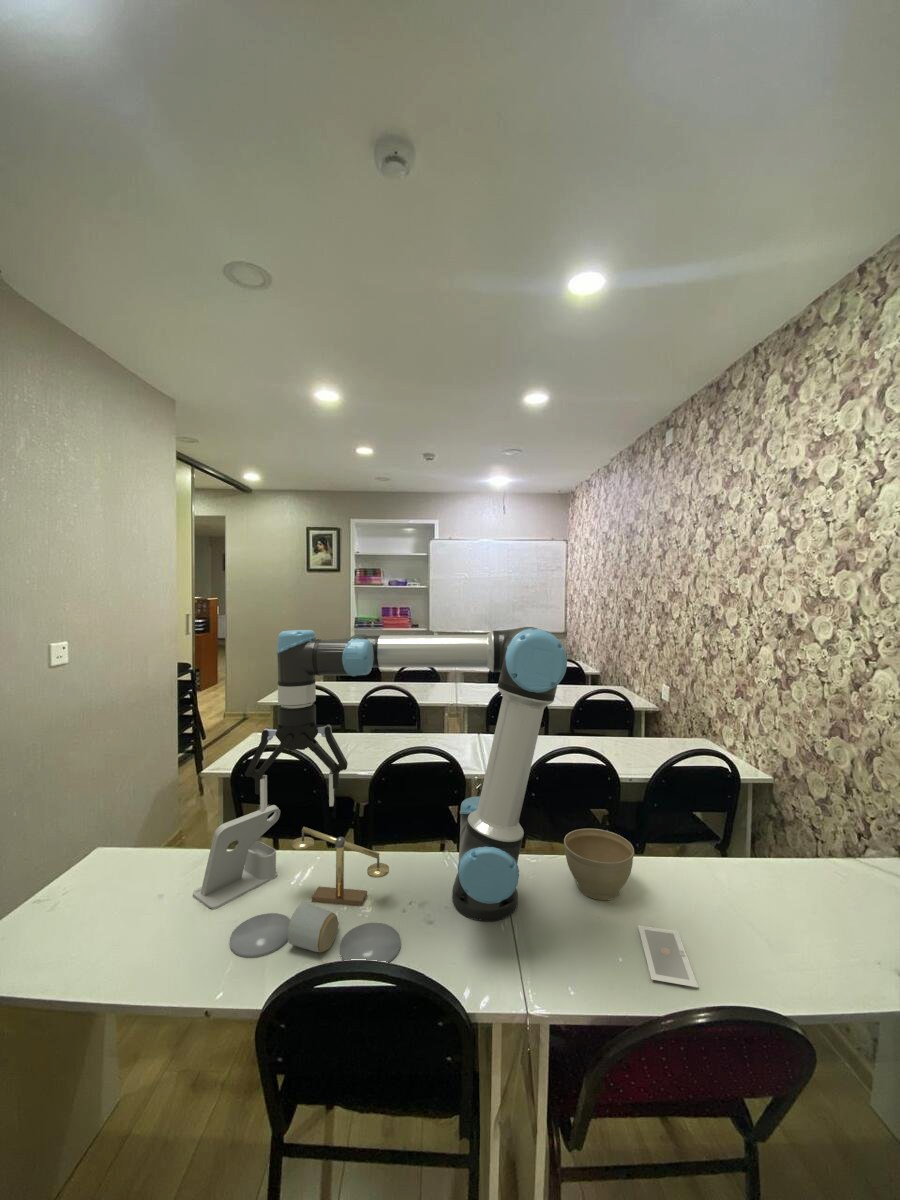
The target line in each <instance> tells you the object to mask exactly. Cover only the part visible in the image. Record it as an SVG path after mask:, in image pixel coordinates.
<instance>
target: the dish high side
mask: <svg viewBox="0 0 900 1200" xmlns="http://www.w3.org/2000/svg"><path fill="white" fill-rule="evenodd" d="M290 919H291V918H289V917H288V916H287V915H285V914H282V913H273V912H271V913H270V912H268V913H263V914H258V915H255V916H253V917H250V918H248V919H246V920H244V921H243V922H241V923H240V924H239V925H237V926H236V927H235V928H234V929H233V931H232V932H231V934H230V936H229V948H230V951H231V952H232V953H233V954H234V955H236V956H237V957H240V958H246V959H255V958H260V957H261V958H262V957H264V956H268V955H270V954H272V953H275V952H276V951H278V950H280V949H281V948H282V947H284V946H285V945H286V944H287V943H289V942H288V939H287V931H288V926H289V922H290Z"/></svg>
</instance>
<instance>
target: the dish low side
mask: <svg viewBox="0 0 900 1200" xmlns="http://www.w3.org/2000/svg"><path fill="white" fill-rule="evenodd" d="M401 945H402V943H401V935H400V933H399V932H398V930H397V929H396V928H394V927H393V926H391V925H389V924H386V923H382V922H368V923H366V922H365V923H363V924H359V925H356V926H355V927H353V928H352V929H350V930H348V931H347V932H346V933H345V934H344V935H343V937H342V938H341V940H340V943H339V956H340V955H341V956H340V958H341V957H342V959H341V960H342V961H343V960H351V959H366V960H377V961H386V962H390V963H391V962H392V961H394V959H396V957H397V956H398V954H399V952H400V950H401Z"/></svg>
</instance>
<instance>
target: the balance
mask: <svg viewBox="0 0 900 1200" xmlns="http://www.w3.org/2000/svg"><path fill="white" fill-rule="evenodd" d="M305 835H308V836H305ZM310 836H311V837H310ZM313 837H315V838H316V839H317V838H318V839H320V840H323V841H326V842H329V843H331V844H334V846H335V847H336V849H335V887H329V886H318V887H317V888H316V889H315V891H314V892H313V894H312V895H311V897H310V898H311V903H320V904H328V905H341V906H351V907H353V906H354V907H363V905H364V904H365V901H366V900H367V898H368V890H367V889H365V890H363V889H352V888H345V848H346V849H349V850H351V851H354V852H357V853H360V854H363V855H366V856H367V857H368V856H369V857H372V858H373V859H376V863H372V864H370V865H369V866H368V867H367V869H366V874H367V875H368V876H369V877H371V878H374V879H375V878H376V879H378V878H384V877H385V876H387V875H388V874H389V873H390V867H389V865H388V864H386V863H382V862H380V852H377V851H374V850H371V849H368V848H366V847H363V846H360V845H359V844H358V845H357V844H354V843H352V842H349V841H346V838H345V837H344V836H338V837H335V836H332V835H328V834H325V833H322V832H320V831H318V830H314V829H311V828H308V827H307V826H306V827H305V826H303V827H302V829H301V837H298V838H295V839H294V840H292V842H291V848H292V849H293V850H296V851H304V850H308V849H310V848H312V847H313V846H314V844H315V840H314V838H313Z"/></svg>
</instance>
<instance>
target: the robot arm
mask: <svg viewBox="0 0 900 1200" xmlns="http://www.w3.org/2000/svg"><path fill="white" fill-rule="evenodd" d="M276 650H277V651H276V656H277V703H278V704H277V705H280V706H278V707H277V729H271V728H270V727H265V728H264V730H262V732H261V737H260V742H259V744H258V746H257V748H256V750H255V751H254V755H253V757H252V758H251V761H250V763H249V764H248V766H247V769H246V771H245V773H244V776H245V777H246V778H249V777H250V778H252V779H254V793H255V795H259V798H260V799H259V803H260V804H259V805H260V808H259V810H260V812H264V811H265V810H266V808H267V807H268V775H267V774H265V773H266V771H268V769H269V768H270V767H271V765H272V764H273V763H274V762H275V761H276V759H278V757H279V756H280V754H282V752H283V751H284V750H288V751H296V750H300V751H304V750H306V749H309V750H310V751H311V752H313V754H315V756H317V757H318V759H319V760H320V761H321V762H322V763H323V764H324V765H325V766H326V767H327V768H328V769H329V773H328V798H329V799H328V804H329V806H328V807H334V804H335V789H339V787H340V772H342V771H345V770H347V769H348V764H349V763H348V760H347V759H346V757H345V755H344V754H343V751H342V749H341V747H340V746H339V744H338V742H337V740H336V739H335V737H334V735H333V729H332V725H331V724H329V723H328V724H326V725H324V726H318V725H317V705H316V704H315V702H316V701H317V700H316V699H317V696H316V695H317V694H316V676H351V677H357V676H367V675H369V674H370V673H371V671H372V668H466V669H467V668H479V669H480V668H481V669H482V668H486V669H488V670H489V671H490V672H491V673H500V674H499V677H498V678H499V679H498V684H497V689H498V691H499V693H500V694H501V697H502V699H501V703H500V708H499V712H498V716H497V721H496V725H495V730H494V731H495V732H494V735H493V738H492V739H493V740H492V743H491V748H490V752H489V756H488V761H487V767H486V769H485V774H484V779H483V783H482V788H481V792H480V795H479V796H477V795H476V796H472V797H471V796H470V797H467V798H465V799H464V800H463V801H462V802H461V804H460V810H459V814H460V820H459V821H460V824H459V825H460V826H459V827H460V829H459V830H460V831H459V848H458V849H459V853H458V863H457V874H456V877H455V879H454V882H453V886H452V897H451V898H452V899H451V900H452V903H453V907H454V908H455V909H456V910H457V911H458V912H459V913H460V914H462V916H465V917H467V918H470V919H472V920H476V921H481V922H495V921H501V920H504V919H506V918H507V917H509V916H511V915H512V914H513V913H514V912H515V911H516V910H517V907H518V904H519V903H518V899H519V898H518V896H519V894H518V888H517V887H518V884H519V881H520V880H519V879H520V869H519V865H518V864H519V863H518V862H519V857H520V852H521V848H522V843H523V840H524V839H523V838H524V834H525V832H524V829H523V827H522V826H521V824H520V817H521V812H522V810H523V809H522V808H523V804H524V799H525V796H526V795H525V794H526V791H527V787H528V786H527V785H528V781H529V777H530V773H531V769H532V763H533V760H534V755H535V751H536V746H537V741H538V737H539V734H540V733H539V732H540V729H541V725H542V724H541V723H542V719H543V715H544V710H545V708H546V707H548V706H549V705H551V704H552V703H554V702H555V697H556V693H557V689H558V685H559V684H560V683H561V681H562V680H563V679H564V677H565V675H566V672H567V667H568V666H567V665H568V657H567V653H566V650H565V649H564V646H563V645H562V643H561V641H560V640H559V639H558V638H557V636H555V635H554V634H553V633H551V632H549V631H548V630H545V629H542V628H537V627H533V626H523V627H518V628H512V629H510V628H509V629H503V630H502V629H501V630H500V629H499V630H490V631H489V632H488V633H487V634H429V635H428V634H406V635H405V634H404V635H403V634H389V635H388V634H383V635H382V634H381V635H376V634H373V635H370V634H369V635H368V634H365V633H363V634H362V633H361V634H354V635H352V636H350V637H349V636H348V637H345V638H341V639H339V638H335V639H319V638H317V637H316V633H315V631H314V630H312V629H292V630H283V631H280V633H279V634H278V637H277V649H276ZM318 734H321V737H323V738H325V740H326V742H327V744H328V746H329V748H330V750H331V751H332V753H333V755H334V756H333V757H335V759H336V761H337V762H336V761H335V760H334V758H332V757H331V755H329V753H328V752H327V751H326V750H325V749H324V748H323V747H322V746H321V745H320V744H319V742H318V741H317V739H316V737H317V736H318ZM274 737H276V739H278V741H279V745H277V747H276V748H275V750H273V752H272V753H271V754H270V755H269V757H268V758H267V759H266V760H265V761H264V763H262V765H261V766H260V767H259V768H258V769H257V768H256V767H257V765H258V764H259V761H260V759H261V757H262V755H263V753H264V751H265V749H266V747H267V745H268V743H269V741H271V740H272V739H273V738H274Z"/></svg>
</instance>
